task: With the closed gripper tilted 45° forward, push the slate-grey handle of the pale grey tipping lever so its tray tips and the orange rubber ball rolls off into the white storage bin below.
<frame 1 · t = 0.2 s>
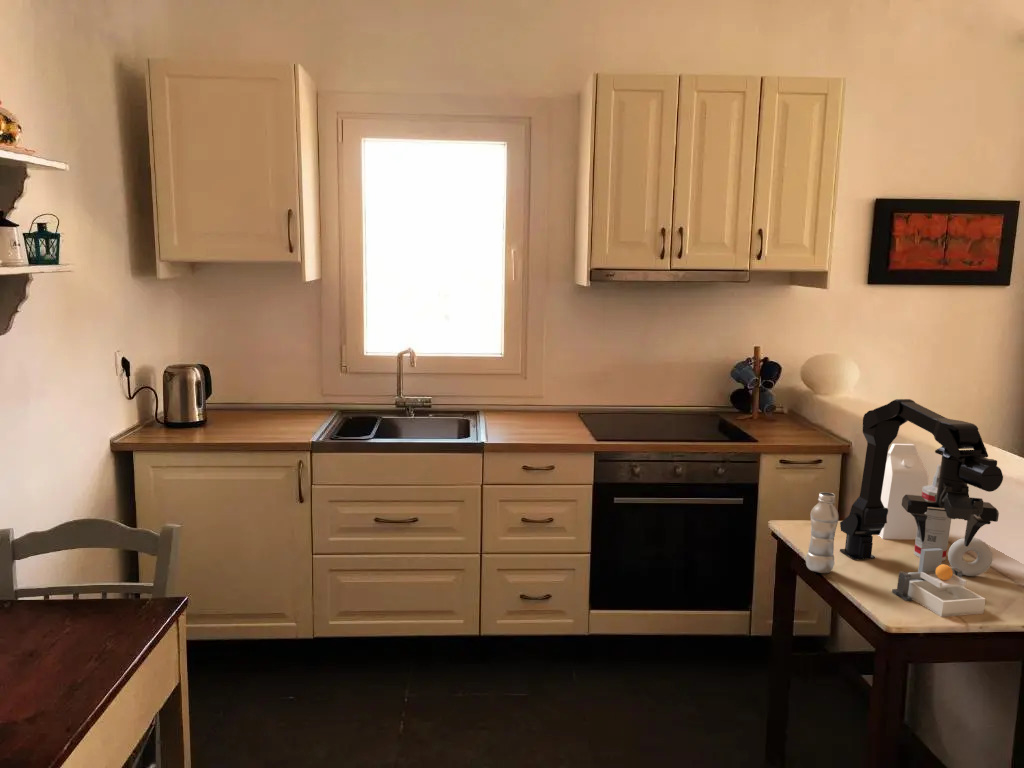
hand: (944, 543, 184), 14 cm above the table, tool pointing down, fingers open, 9 cm apart
ball: (944, 572, 185), point 7 cm above the table, touching lever
milk: (892, 532, 233), on the table
donut: (967, 576, 203), on the table
white storage bin: (943, 604, 185), on the table
stand: (927, 594, 190), resting in white storage bin
plastic bottle: (818, 571, 202), on the table
lever: (930, 571, 189), point 6 cm above the table, hinge at 0.0°, touching ball
spray bottle: (929, 556, 215), on the table
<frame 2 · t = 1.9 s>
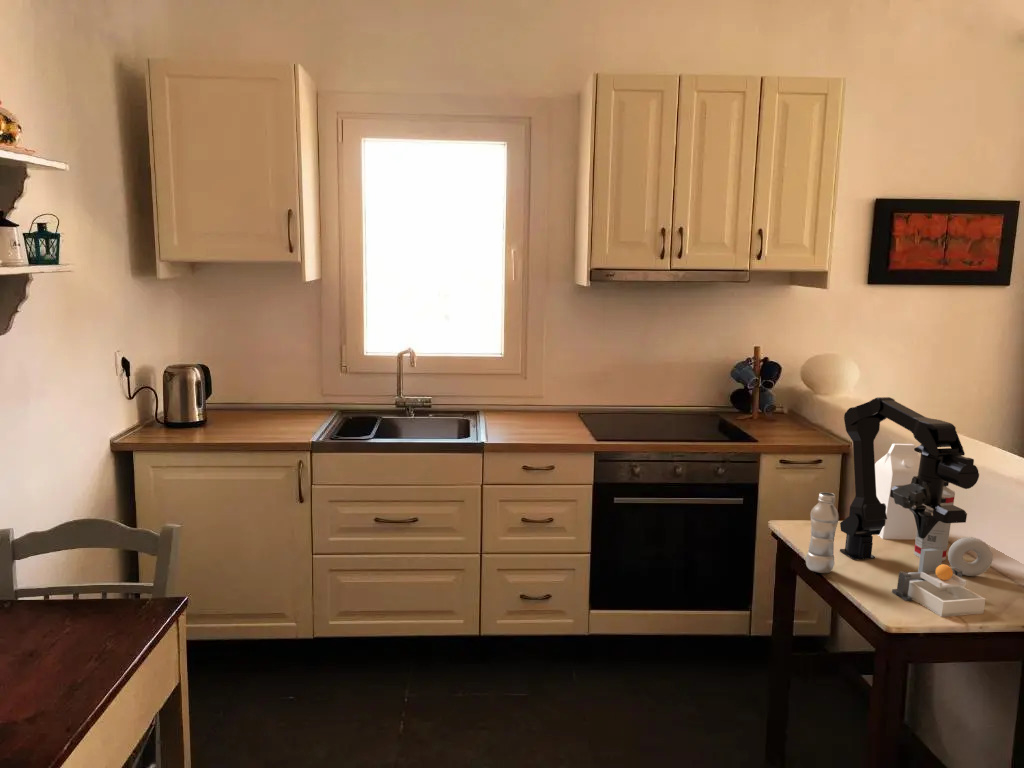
hand: (921, 537, 192), 13 cm above the table, tool pointing down, fingers closed
nothing on the table moved.
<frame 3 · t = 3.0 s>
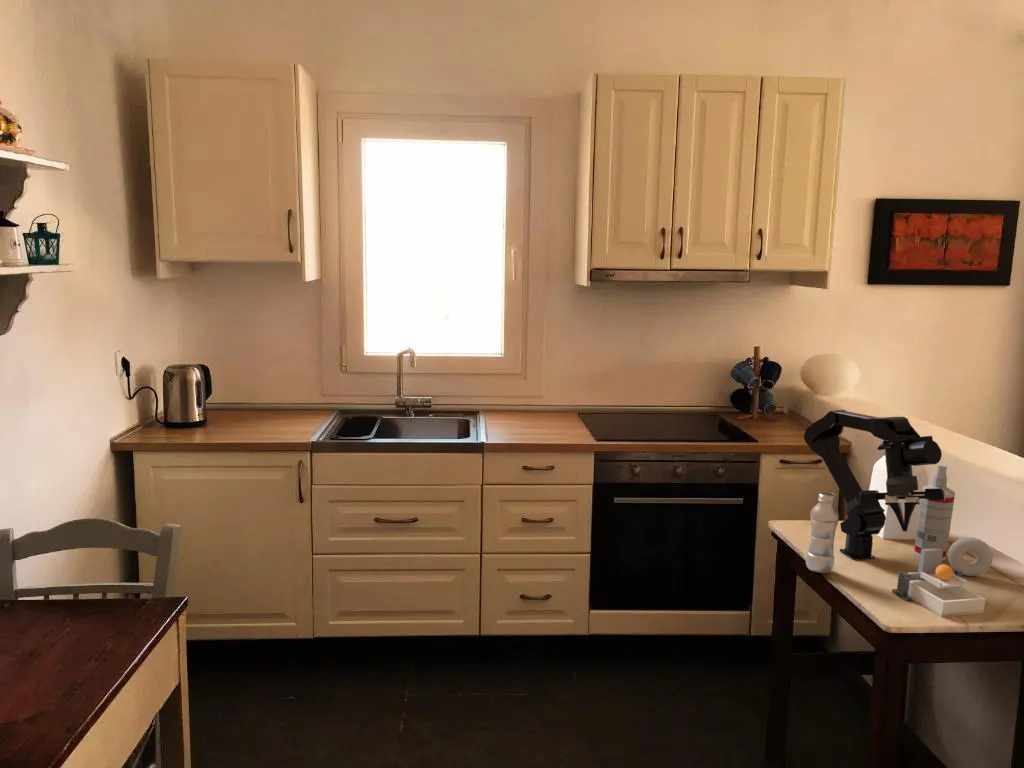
hand: (905, 531, 197), 12 cm above the table, tool tilted 20°, fingers closed
nothing on the table moved.
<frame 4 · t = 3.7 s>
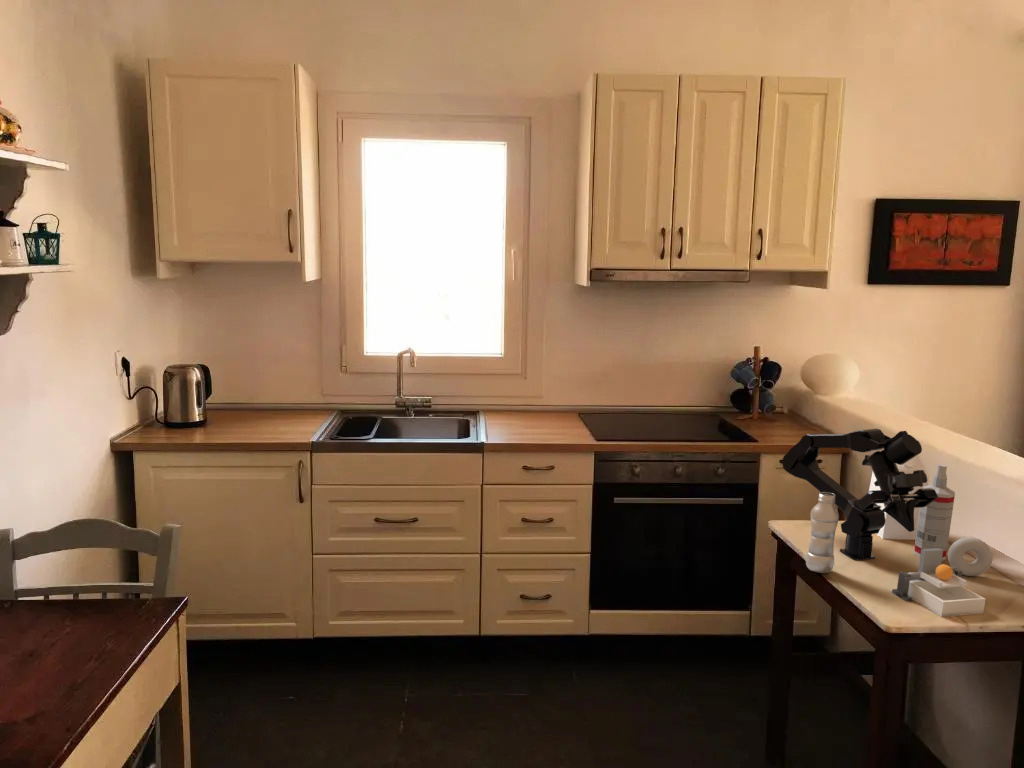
hand: (911, 531, 195), 13 cm above the table, tool tilted 45°, fingers closed
nothing on the table moved.
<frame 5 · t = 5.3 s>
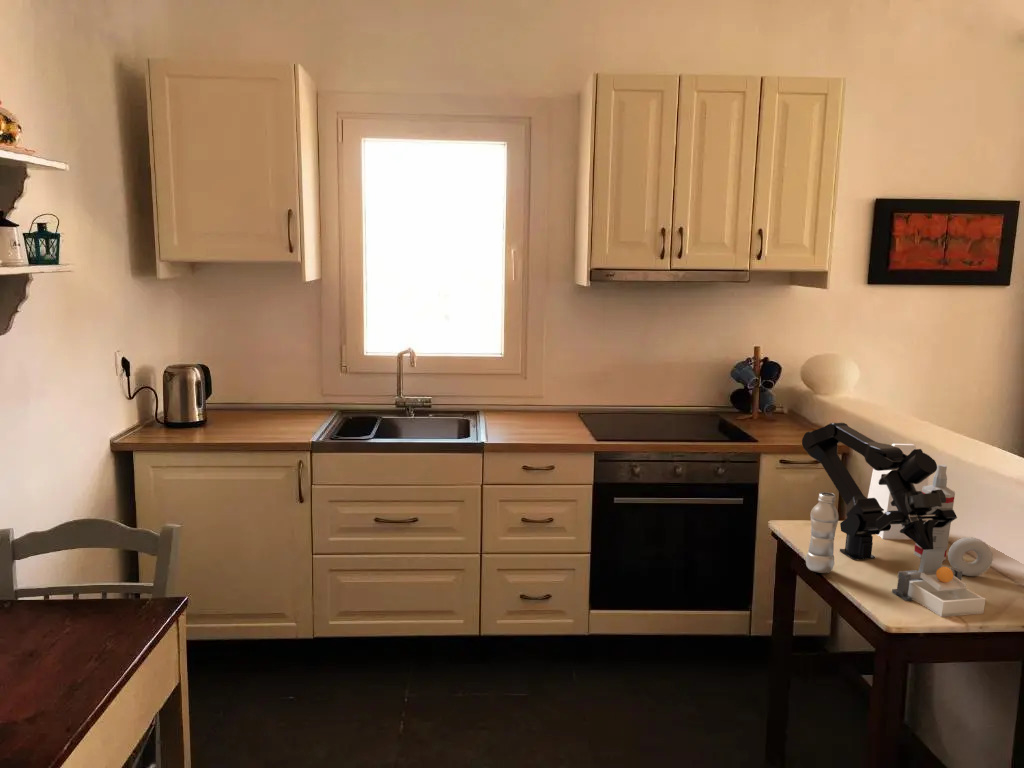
hand: (931, 552, 189), 10 cm above the table, tool tilted 45°, fingers closed, pressing on lever
ball: (944, 574, 185), point 7 cm above the table, tilted 8°, touching lever
lever: (931, 571, 189), point 6 cm above the table, hinge at 6.4°, touching ball, gripper
everything else where it was.
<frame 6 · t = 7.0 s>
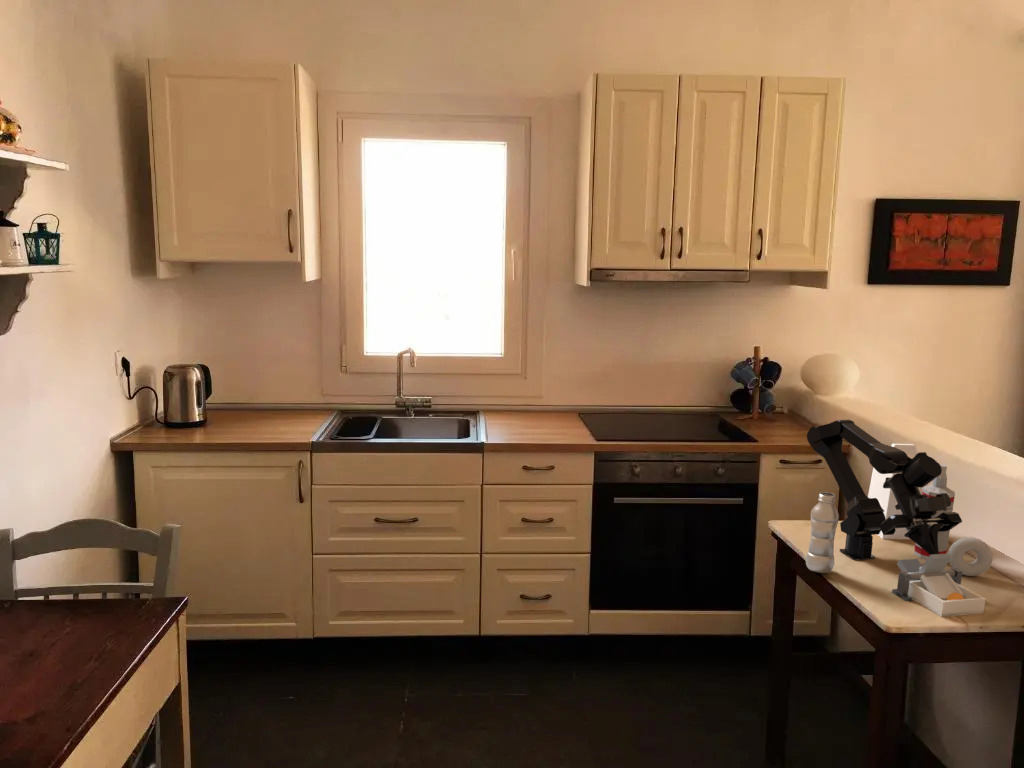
hand: (936, 556, 188), 10 cm above the table, tool tilted 45°, fingers closed
ball: (955, 600, 182), point 2 cm above the table, tilted 165°, touching white storage bin
lever: (931, 572, 189), point 6 cm above the table, hinge at 28.5°
everything else where it was.
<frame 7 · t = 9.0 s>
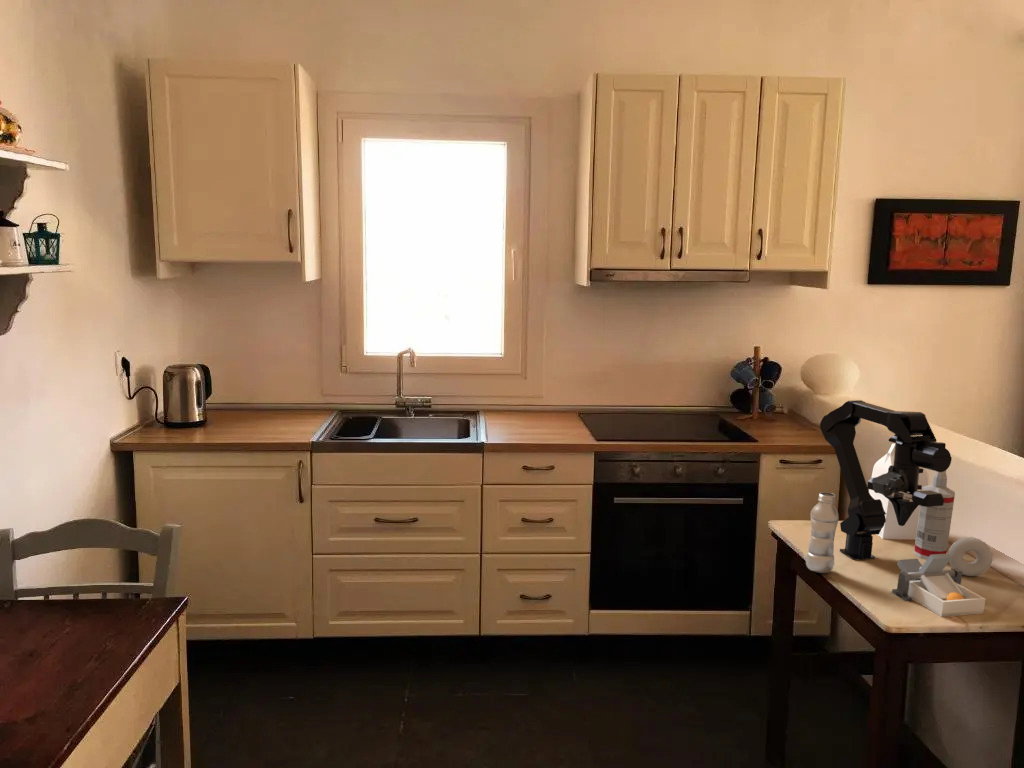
hand: (901, 525, 199), 13 cm above the table, tool pointing down, fingers closed
ball: (955, 600, 182), point 2 cm above the table, tilted 159°, touching white storage bin
everything else where it was.
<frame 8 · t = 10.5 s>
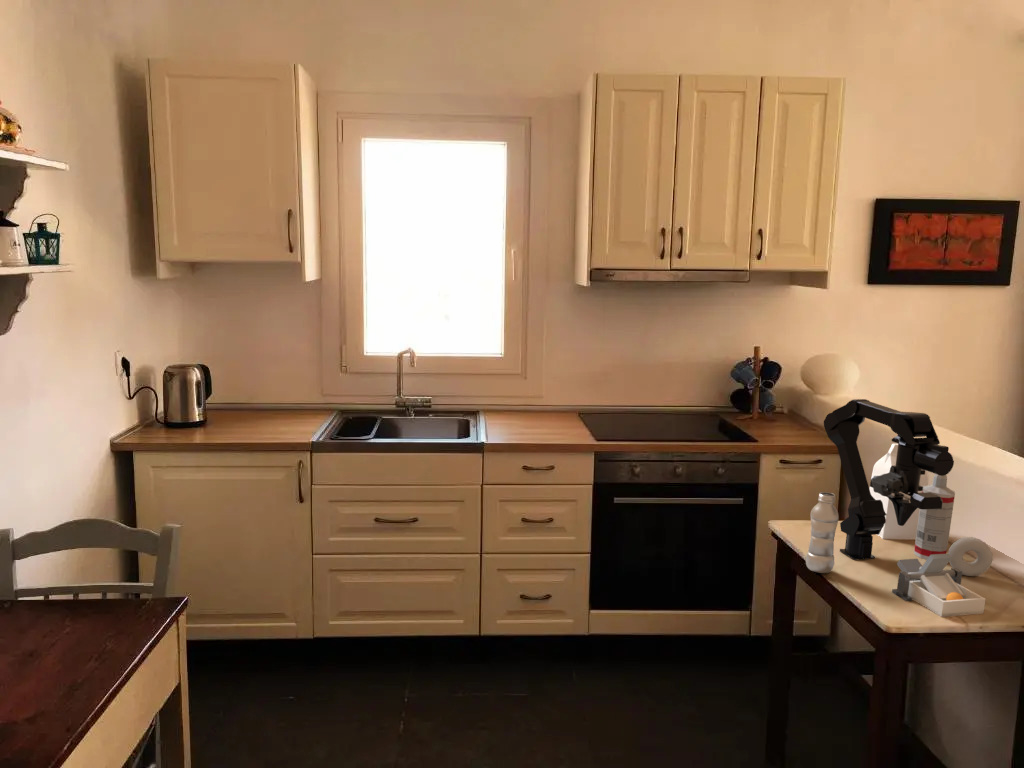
hand: (900, 525, 199), 13 cm above the table, tool pointing down, fingers closed
nothing on the table moved.
at the end: ball inside the target area on the white storage bin (3.0 cm from its centre), point 2.3 cm above the white storage bin's base; ball point 2.3 cm above the table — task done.
